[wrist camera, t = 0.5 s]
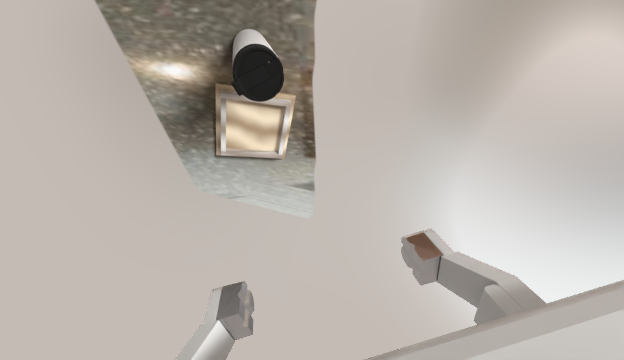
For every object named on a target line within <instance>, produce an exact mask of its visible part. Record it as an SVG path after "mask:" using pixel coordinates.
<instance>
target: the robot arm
mask: <svg viewBox="0 0 624 360" xmlns="http://www.w3.org/2000/svg"><path fill="white" fill-rule="evenodd" d="M402 243H403V247H402V250H401V253H402V256H403V259H404V261H405V263H406V264H407V266H408V267H410V268H412V269H413V275H414V277H415V278H416V279H417V281H418V282H419V284H420V285H424V284H428V283H431V282H435V281H437V282H438V283H440V284H441V285H443V286H444V287H446V288H447V289H449V290H450V291H452V292H454V293H455V294H457V295H458V296H460V297H461V298H463V299H465V300H466V301H467V302H469V303H470V304H472V305H474V306H475V307H477V308H478V309H477V312H476V315H475V318H474V321H475V322H476V324H477V325H476V326H473V327H469V328H466V329H463V330H459V331H456V332H453V333H450V334H446V335H443V336H440V337H437V338H434V339H430V340H427V341H424V342H420V343H417V344H414V345H410V346H408V347H404V348H401V349H397V350H394V351H391V352H388V353H384V354H381V355H378V356H375V357H371V358H368V359H365V360H624V280H622V281H619V282H616V283H613V284H609V285H606V286H603V287H599V288H597V289H593V290H590V291H586V292H583V293H580V294H577V295H573V296H570V297H567V298H564V299H561V300H557V301H554V302H551V303H547V304H546V303H545V302H544V301H543V300H542V299H541V298H540V297H539V296H537V295H536V294H535V293H534V292H533V291H532V290H531V289H529V288H528V287H527V286H526V285H525V284H524V283H523V282H522V281H521V280H519V279H518V278H517V277H516V276H514V275H511V274H509V273H506V272H504V271H502V270H500V269H497V268H495V267H493V266H490V265H488V264H485V263H483V262H481V261H478V260H476V259H474V258H471V257H469V256H467V255H464V254H462V253H460V252H454V251H453V250H452V249H451V248H450V247H449V246H448V245H447V244H446V243H445V242H444V241H443V240H442V239H441V238H440V237H439V235H438V234H437V233H436V232H435V231H434V230H432V229H428V230H425V231H421V232H417V233H413V234H410V235H407V236H403V237H402ZM253 311H254V300H253V296H252V293H251V291H250V290H247V284H246V283H245V281H243V282H239V283H236V284H232V285H227V286H223V287H220V288H216V289H213V290H212V292H211V295H210V299H209V303H208V307H207V312H206V316H205V321H204V324H203V325H200V326H199V328H198V329H197V330H196V332H195V333H194V334H193V336H192V337H191V338H190V340H189V341H188V342H187V344H186V345H185V346H184V348H183V349H182V351H181V352H180V354H178V356H177V357H176V358H175V360H226V358H227V356H228V354H229V352H230V350H231V348H232V346H233V344H234V342H235V341H234V340H237V339H240V338H243V337H246V336H250V335H252V334H253V319H252V317H251V314H252V312H253Z"/></svg>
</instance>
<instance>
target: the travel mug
mask: <svg viewBox="0 0 624 360" xmlns="http://www.w3.org/2000/svg"><path fill="white" fill-rule="evenodd" d="M233 78H234V82H233V81H232V82H231V83H232V86H233V88H234V89H235V91H236V92H237V94H238V95H239V96H241V95H244V96H245V97H246V98H248V99H250V100H252V101H257V102H264V101H268V100H270V99H272V98H273V97H275V96H276V95H277V94H278V93H279V91H280V90H281V88H282V86H283V82H284V74H283V67H282V64H281V62H280V60H279V58H278V57H277V55H276V53H275V52H274V51H273V49H272V48H271V47H270V45H269V44H268V42H267V41H266V40H265V38H264V37H263V36H262V35H261V34H260V33H259V32H257V31H256V30H253V29H244V30H241V31H240V32H238V34H237V35H236V36H235V38H234V41H233Z"/></svg>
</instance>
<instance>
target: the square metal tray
mask: <svg viewBox="0 0 624 360" xmlns="http://www.w3.org/2000/svg"><path fill="white" fill-rule="evenodd" d="M215 89H216V149H217V155H223V156H241V157H259V158H277V159H284V158H285V152H286V147H287V141H288V136H289V130H290V125H291V120H292V114H293V109H294V103H295V98H296V96H295V95H291V94H285V93H278V94H277V95H276V96H275V97H273V98H272V99H270V100H268V101H264V102H257V101H252V100H250V99H248V98H246V97H245V96H244V95H241V96H239V95H238V94H237V92H236V91H235V89H234V88H233V86H232V85H227V84H221V83H215Z"/></svg>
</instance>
